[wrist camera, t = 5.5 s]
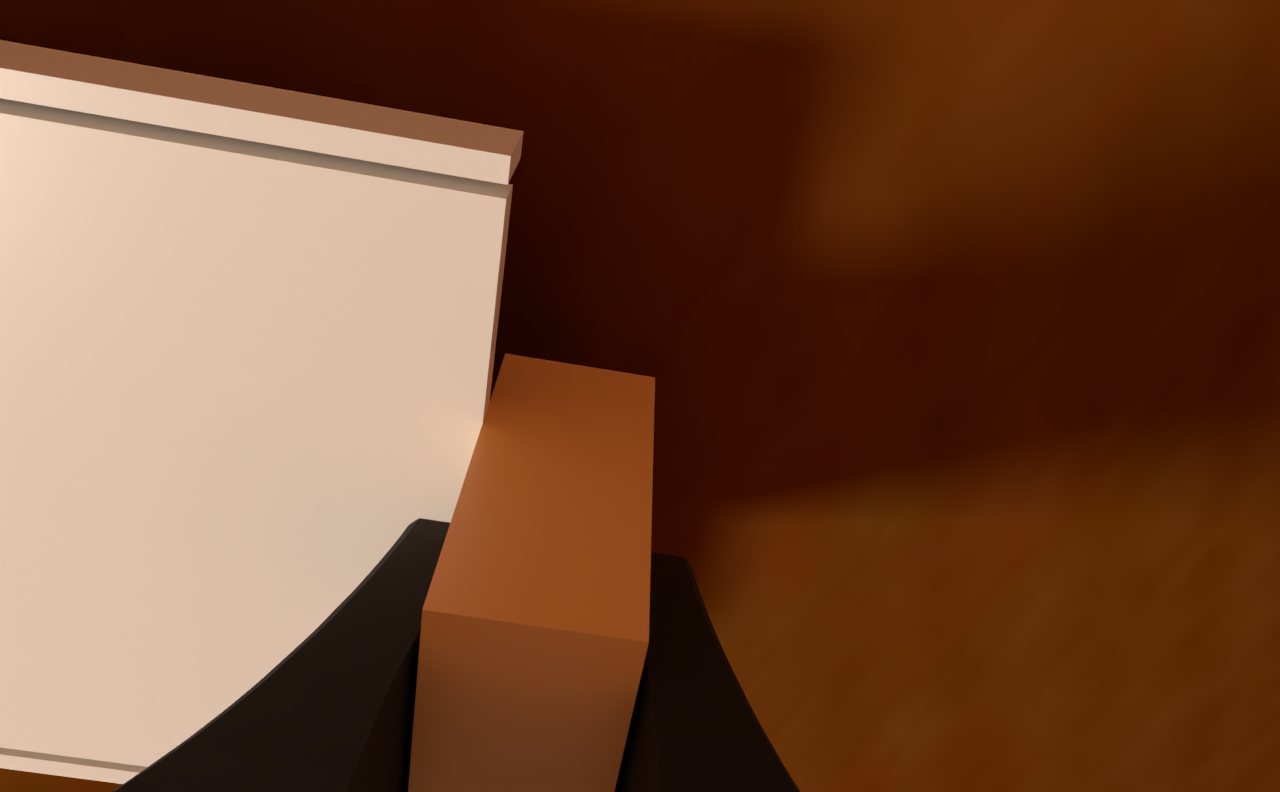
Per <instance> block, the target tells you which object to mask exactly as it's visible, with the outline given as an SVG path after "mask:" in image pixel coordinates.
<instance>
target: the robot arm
mask: <svg viewBox="0 0 1280 792" xmlns="http://www.w3.org/2000/svg"><path fill="white" fill-rule="evenodd" d="M449 526H450V523H449V522H442V521H436V520H429V519H422V518H419V519H417V520H415V521H414V522H412V523H411V524H409V525H408V527H407V528H406V529H405V531H404V532H403V533H402V535H401V536H400V537H399V539H398V540H397V541H396V542H395V544H394V545H393V546H392V547H391V548H390V550H389V551H388V552H387V553H386V555H385V556H384V557H383V558H382V559H381V560H380V562H379V563H378V564H377V565H376V566H375V567H374V568H373V570H372V571H371V572H370V573H369V574H368V575H367V576H366V577H365V579H364V580H363V581H362V582H361V583H360V584H359V585H358V586H357V587H356V589H355V590H354V591H353V592H352V593H351V594H350V595H349V596H348V597H347V598H346V599H345V600H344V601H343V602H342V603H341V604H340V605H339V606H338V607H337V608H336V609H335V610H334V611H333V612H332V613H331V614H330V615H329V616H328V617H327V618H326V619H325V621H324V622H323V623H322V624H321V625H320V626H319V627H318V628H317V629H316V630H315V631H314V632H313V633H311V634H310V635H309V636H308V637H307V638H306V639H305V640H304V641H303V642H302V643H301V644H300V645H299V646H297V647H296V648H295V649H294V650H293V651H292V652H291V653H290V654H289V655H288V656H287V657H285V658H284V659H283V660H282V661H281V662H280V663H279V664H278V665H277V666H276V667H275V668H273V669H272V670H271V671H270V672H269V673H268V674H267V675H266V676H265V677H264V678H262V679H261V680H260V681H259V682H258V683H257V684H256V685H254V686H253V687H252V688H251V689H250V690H248V691H247V692H246V693H245V694H244V695H242V696H241V697H240V698H239V699H238V700H236V701H235V702H234V703H233V704H232V705H230V706H229V707H228V708H227V709H225V710H224V711H223V712H222V713H220V714H219V715H218V716H217V717H215V718H214V719H213V720H211V721H210V722H209V723H207V724H206V725H205V726H204V727H202V728H201V729H200V730H198V731H197V732H196V733H194V734H193V735H192V736H191V737H189V738H188V739H187V740H185V741H184V742H183V743H181V744H180V745H178V746H177V747H175V748H174V749H173V750H171V751H170V752H168V753H167V754H166V755H164V756H163V757H161V758H160V759H158V760H157V761H156V762H154V763H153V764H151V765H150V766H148V767H147V768H146V769H144V770H143V771H141V772H140V773H139V774H137V775H136V776H134V777H133V778H131V779H130V780H129V781H127V782H126V783H124V784H123V785H121V786H120V787H118V788H116V789H115V790H113V791H112V792H408V785H409V772H410V760H411V747H412V734H413V722H414V709H415V696H416V684H417V671H418V658H419V646H420V633H421V620H422V609H423V606H424V603H425V600H426V597H427V594H428V591H429V588H430V584H431V581H432V578H433V575H434V572H435V569H436V566H437V563H438V560H439V557H440V554H441V550H442V547H443V544H444V541H445V538H446V535H447V532H448V529H449ZM614 792H800V791H799V789H798V788H797V786H796V785H795V783H794V781H793V780H792V778H791V777H790V775H789V773H788V772H787V770H786V768H785V767H784V765H783V763H782V762H781V760H780V758H779V757H778V755H777V753H776V751H775V750H774V748H773V746H772V744H771V743H770V741H769V739H768V737H767V736H766V734H765V732H764V730H763V729H762V727H761V725H760V723H759V721H758V719H757V718H756V716H755V714H754V712H753V710H752V708H751V706H750V704H749V702H748V701H747V699H746V697H745V694H744V692H743V690H742V688H741V686H740V684H739V682H738V680H737V678H736V676H735V674H734V672H733V670H732V668H731V666H730V664H729V662H728V660H727V657H726V655H725V653H724V651H723V649H722V646H721V644H720V642H719V640H718V637H717V635H716V632H715V630H714V628H713V625H712V623H711V621H710V618H709V616H708V613H707V611H706V608H705V605H704V603H703V600H702V597H701V595H700V592H699V589H698V586H697V583H696V580H695V577H694V574H693V571H692V567H691V566H690V564H689V563H688V562H687V560H686V559H685V558H683V557H676V556H669V555H663V554H656V553H651V571H650V612H649V644H648V648H647V652H646V657H645V661H644V665H643V670H642V674H641V678H640V683H639V687H638V691H637V696H636V700H635V704H634V709H633V713H632V717H631V722H630V726H629V731H628V735H627V739H626V744H625V748H624V752H623V757H622V761H621V765H620V770H619V774H618V778H617V783H616V787H615V791H614Z"/></svg>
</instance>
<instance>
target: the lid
mask: <svg viewBox="0 0 1280 792" xmlns="http://www.w3.org/2000/svg"><path fill="white" fill-rule="evenodd" d="M523 133H524V131H520V130H514V129H508V128H503V127H497V126H491V125H485V124H480V123H474V122H468V121H462V120H457V119H451V118H445V117H439V116H434V115H428V114H422V113H417V112H411V111H405V110H399V109H394V108H388V107H382V106H376V105H371V104H365V103H359V102H353V101H348V100H342V99H336V98H330V97H325V96H319V95H313V94H307V93H302V92H296V91H290V90H285V89H279V88H273V87H267V86H262V85H256V84H250V83H244V82H239V81H233V80H227V79H221V78H216V77H210V76H204V75H198V74H193V73H187V72H181V71H176V70H170V69H164V68H158V67H153V66H147V65H141V64H135V63H130V62H124V61H118V60H112V59H107V58H101V57H95V56H89V55H84V54H78V53H72V52H67V51H61V50H55V49H49V48H44V47H38V46H32V45H26V44H21V43H15V42H9V41H3V40H0V768H4V769H12V770H20V771H27V772H35V773H42V774H50V775H58V776H65V777H73V778H80V779H88V780H96V781H103V782H111V783H118V784H124V783H126V782H127V781H129V780H130V779H131V778H133V777H134V776H136V775H137V774H139V773H140V772H141V771H143V770H144V769H146V768H147V767H148V766H150V765H151V764H153V763H154V762H156V761H157V760H158V759H160V758H161V757H163V756H164V755H166V754H167V753H168V752H170V751H171V750H173V749H174V748H175V747H177V746H178V745H180V744H181V743H183V742H184V741H185V740H187V739H188V738H189V737H191V736H192V735H193V734H194V733H196V732H197V731H198V730H200V729H201V728H202V727H204V726H205V725H206V724H207V723H209V722H210V721H211V720H213V719H214V718H215V717H217V716H218V715H219V714H220V713H222V712H223V711H224V710H225V709H227V708H228V707H229V706H230V705H232V704H233V703H234V702H235V701H236V700H238V699H239V698H240V697H241V696H242V695H244V694H245V693H246V692H247V691H248V690H250V689H251V688H252V687H253V686H254V685H256V684H257V683H258V682H259V681H260V680H261V679H262V678H264V677H265V676H266V675H267V674H268V673H269V672H270V671H271V670H272V669H273V668H275V667H276V666H277V665H278V664H279V663H280V662H281V661H282V660H283V659H284V658H285V657H287V656H288V655H289V654H290V653H291V652H292V651H293V650H294V649H295V648H296V647H297V646H299V645H300V644H301V643H302V642H303V641H304V640H305V639H306V638H307V637H308V636H309V635H310V634H311V633H313V632H314V631H315V630H316V629H317V628H318V627H319V626H320V625H321V624H322V623H323V622H324V621H325V619H326V618H327V617H328V616H329V615H330V614H331V613H332V612H333V611H334V610H335V609H336V608H337V607H338V606H339V605H340V604H341V603H342V602H343V601H344V600H345V599H346V598H347V597H348V596H349V595H350V594H351V593H352V592H353V591H354V590H355V589H356V587H357V586H358V585H359V584H360V583H361V582H362V581H363V580H364V579H365V577H366V576H367V575H368V574H369V573H370V572H371V571H372V570H373V568H374V567H375V566H376V565H377V564H378V563H379V562H380V560H381V559H382V558H383V557H384V556H385V555H386V553H387V552H388V551H389V550H390V548H391V547H392V546H393V545H394V544H395V542H396V541H397V540H398V539H399V537H400V536H401V535H402V533H403V532H404V531H405V529H406V528H407V527H408V525H409V524H411V523H412V522H414V521H415V520H417V519H419V518H422V519H429V520H436V521H442V522H449V523H450V526H449V529H448V532H447V535H446V538H445V541H444V544H443V547H442V550H441V554H440V557H439V560H438V563H437V566H436V569H435V572H434V575H433V578H432V581H431V584H430V588H429V591H428V594H427V597H426V600H425V603H424V606H423V609H422V620H421V633H420V646H419V658H418V671H417V684H416V696H415V709H414V722H413V734H412V747H411V760H410V772H409V785H408V792H614V791H615V787H616V783H617V778H618V774H619V770H620V765H621V761H622V757H623V752H624V748H625V744H626V739H627V735H628V731H629V726H630V722H631V717H632V713H633V709H634V704H635V700H636V696H637V691H638V687H639V683H640V678H641V674H642V670H643V665H644V661H645V657H646V652H647V648H648V644H649V612H650V571H651V529H652V487H653V445H654V404H655V377H650V376H643V375H637V374H631V373H625V372H618V371H612V370H606V369H600V368H594V367H587V366H581V365H575V364H569V363H562V362H556V361H550V360H544V359H538V358H531V357H525V356H519V355H513V354H506V353H505V356H504V359H503V362H502V365H501V368H500V371H499V374H498V377H497V380H496V384H495V387H494V390H493V393H492V396H491V399H490V394H491V384H492V375H493V366H494V357H495V347H496V338H497V329H498V320H499V310H500V301H501V292H502V282H503V273H504V264H505V255H506V245H507V236H508V227H509V218H510V208H511V199H512V190H513V184H509V181H510V179H511V177H512V175H513V173H514V171H515V169H516V167H517V165H518V163H519V161H520V158H521V151H522V142H523Z"/></svg>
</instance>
